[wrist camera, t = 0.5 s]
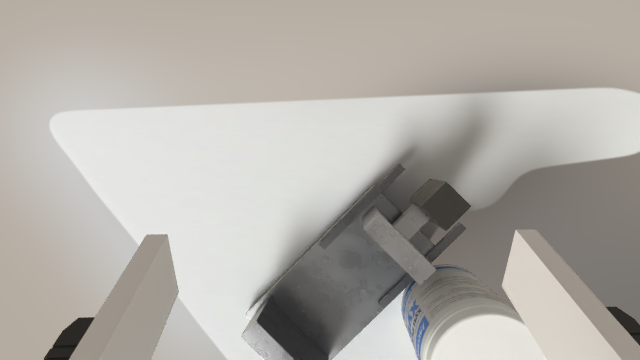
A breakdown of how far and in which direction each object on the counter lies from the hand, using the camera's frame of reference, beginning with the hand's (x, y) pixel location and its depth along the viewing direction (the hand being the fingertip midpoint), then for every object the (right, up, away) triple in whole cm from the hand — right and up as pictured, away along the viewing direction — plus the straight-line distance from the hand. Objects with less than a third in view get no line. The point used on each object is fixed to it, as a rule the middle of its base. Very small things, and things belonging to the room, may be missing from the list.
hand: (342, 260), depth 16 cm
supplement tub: (+13, -11, +30) cm, 35 cm away
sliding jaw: (+9, -1, +27) cm, 29 cm away
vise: (+3, -7, +30) cm, 31 cm away
